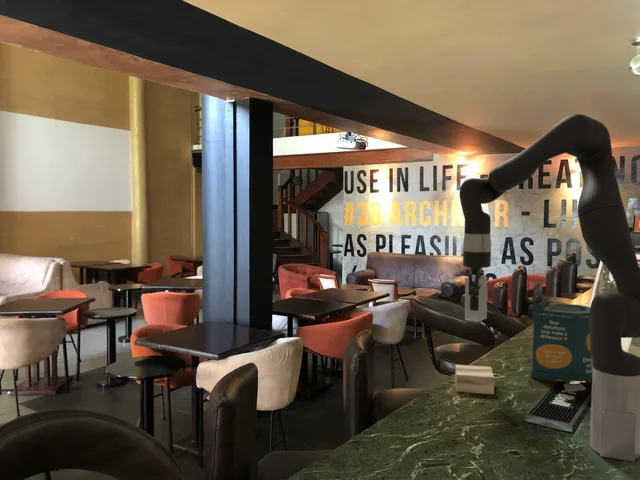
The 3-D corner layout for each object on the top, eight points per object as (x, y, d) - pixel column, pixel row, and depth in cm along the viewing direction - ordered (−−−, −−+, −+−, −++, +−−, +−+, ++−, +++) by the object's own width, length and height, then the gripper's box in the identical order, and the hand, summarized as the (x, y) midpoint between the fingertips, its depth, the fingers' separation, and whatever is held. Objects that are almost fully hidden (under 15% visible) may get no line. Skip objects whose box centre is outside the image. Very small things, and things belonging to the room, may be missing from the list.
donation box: (539, 364, 173) (541, 279, 172) (594, 372, 165) (597, 283, 163) (530, 378, 159) (533, 285, 158) (590, 387, 151) (593, 290, 150)
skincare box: (472, 316, 154) (473, 275, 153) (487, 318, 151) (487, 277, 150) (463, 320, 149) (464, 277, 148) (478, 322, 146) (479, 279, 146)
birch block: (493, 395, 145) (494, 377, 145) (456, 392, 147) (456, 374, 147) (490, 383, 155) (490, 366, 155) (455, 381, 157) (455, 364, 157)
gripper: (488, 252, 141) (487, 313, 142) (493, 248, 154) (491, 305, 155) (459, 251, 144) (458, 311, 145) (466, 247, 157) (465, 303, 158)
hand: (475, 308), depth 150 cm, fingers closed on skincare box, 7 cm apart
